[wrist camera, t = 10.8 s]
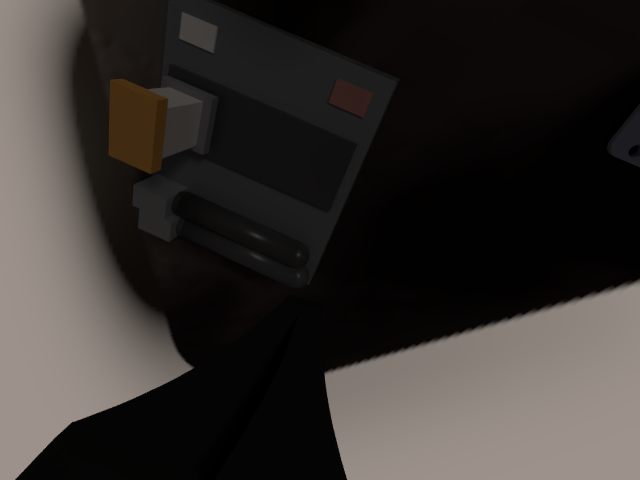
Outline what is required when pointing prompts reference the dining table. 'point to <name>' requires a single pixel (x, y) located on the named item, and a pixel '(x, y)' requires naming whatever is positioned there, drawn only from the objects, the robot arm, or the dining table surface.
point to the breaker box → (263, 141)
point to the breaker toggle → (158, 121)
